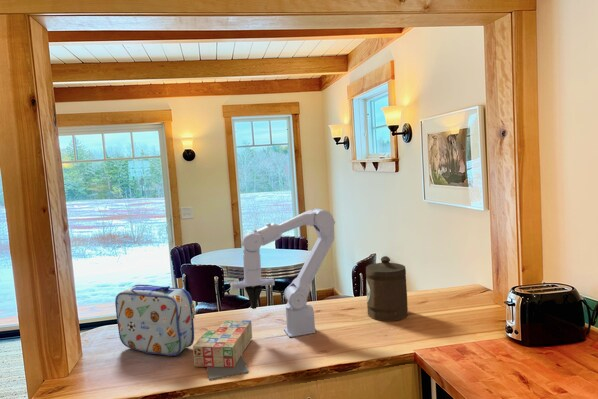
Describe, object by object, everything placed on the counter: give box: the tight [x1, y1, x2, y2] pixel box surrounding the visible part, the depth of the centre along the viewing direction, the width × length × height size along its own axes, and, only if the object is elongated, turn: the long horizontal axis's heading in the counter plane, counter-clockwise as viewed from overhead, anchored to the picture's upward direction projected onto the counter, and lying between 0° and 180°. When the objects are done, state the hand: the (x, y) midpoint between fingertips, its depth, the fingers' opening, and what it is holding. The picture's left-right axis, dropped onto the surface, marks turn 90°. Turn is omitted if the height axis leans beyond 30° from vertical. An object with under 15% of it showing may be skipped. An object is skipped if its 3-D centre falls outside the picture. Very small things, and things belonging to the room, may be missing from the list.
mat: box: [206, 355, 250, 381], centre depth 135 cm, size 11×24×1 cm, turn 17°
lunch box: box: [114, 284, 197, 357], centre depth 144 cm, size 28×10×22 cm, turn 68°
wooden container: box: [365, 255, 409, 322], centre depth 165 cm, size 15×15×22 cm
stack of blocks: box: [192, 319, 253, 368], centre depth 139 cm, size 21×6×12 cm
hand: (253, 307), depth 149 cm, fingers closed
